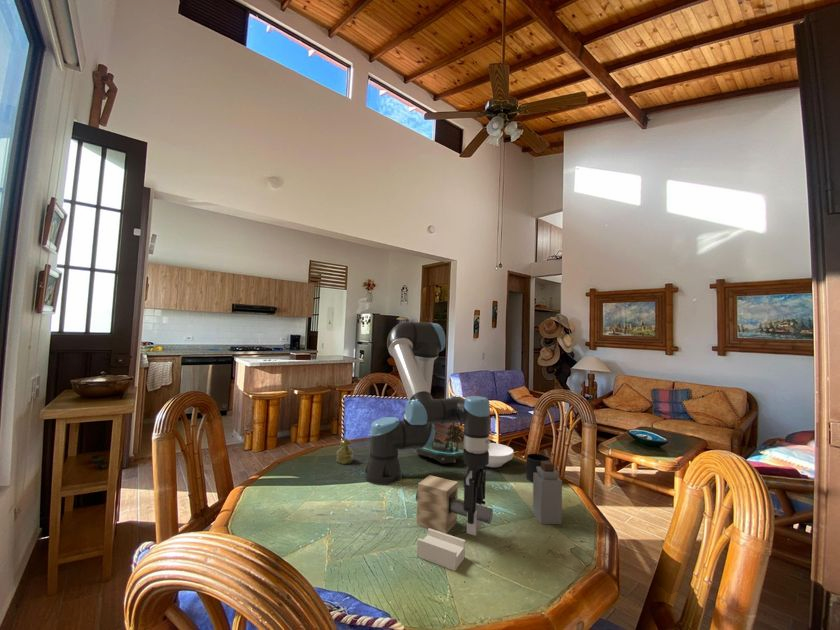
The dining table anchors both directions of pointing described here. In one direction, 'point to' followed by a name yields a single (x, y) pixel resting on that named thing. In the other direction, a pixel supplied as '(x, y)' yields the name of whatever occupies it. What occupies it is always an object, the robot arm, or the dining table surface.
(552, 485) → the perfume bottle
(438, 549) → the cradle
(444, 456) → the diorama
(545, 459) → the mug
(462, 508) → the axle
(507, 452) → the bowl
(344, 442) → the olive ridged vase
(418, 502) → the brown wooden block
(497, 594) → the dining table surface
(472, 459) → the robot arm
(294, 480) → the dining table surface
